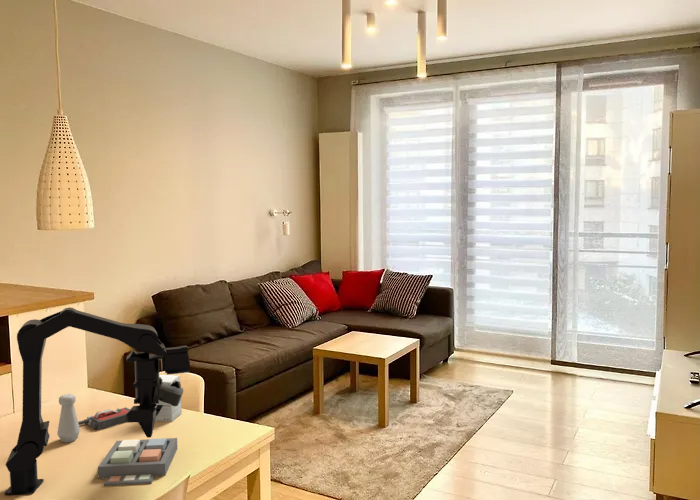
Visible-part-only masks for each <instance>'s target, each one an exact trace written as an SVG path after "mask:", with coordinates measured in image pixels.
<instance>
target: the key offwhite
mask: <svg viewBox="0 0 700 500" xmlns="http://www.w3.org/2000/svg"><path fill="white" fill-rule="evenodd" d="M140 440H141V439H122V440H121V441H122V442H121V444H120V445H119V447H118V451H128V450H133V451H138V449H139V448H140Z"/></svg>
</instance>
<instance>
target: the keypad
mask: <svg viewBox="0 0 700 500" xmlns="http://www.w3.org/2000/svg"><path fill="white" fill-rule="evenodd" d="M150 439H151V438H149V439H140V448H139V449H138V451H133V459H132V461H131V463H115V464H110V458H111V457H112V455H113V454H114V452H115V451H118V447H119V445H120V444H121V442H122V441H123V440H116V441H115V442H114V444H113V445H112V446H111V448H110V449H109V450H108V452H107V454H106V455H105V457H103V459H102V461H101V462H100V463H99V464H98V466H97V473H98V474H97V476H98V480H102V479H105V481H104V483H103V486H104V487H109V486H126V485H128V486H131V485H146V484H147V485H149V484H152V483H153V481H154V479H155V477H157V476H167V473H168V471H169V469H170V466H171V464H172V462H173V459H174V457H175V455H176V452H177V450H178V438H177V437H175V438H174V437H170V438H169V437H168V438H167V446H166V448H165V450H161V458H160V460H159V461H155V462H139V457H140V455H141V453H142V452H143V450H146V445H147V443H148V441H149V440H150Z"/></svg>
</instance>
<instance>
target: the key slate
mask: <svg viewBox="0 0 700 500" xmlns="http://www.w3.org/2000/svg"><path fill="white" fill-rule="evenodd" d="M149 439H150V440H149V441H148V443H147V445H146V450H149V449H161V450H165V448H166V446H167V438H166V437H164V438H149Z"/></svg>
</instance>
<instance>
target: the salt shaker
mask: <svg viewBox="0 0 700 500" xmlns="http://www.w3.org/2000/svg"><path fill="white" fill-rule="evenodd" d="M76 401H77V400H76V395H75V394H71V393H66V394H63V395H60V396H59V397H58V404H59V405H60V406H61V408H60V414H59V421H58V426H57V431H56V432H57V436H58V438H59V439H60V441H61V443H68V444H69V443H71V442H72V443H73V442H76V440H77V439H78V438H79V435H80V431H81V428H80V425H79V424H78V422H79V419H78V416H77V412H76V408H75V402H76Z"/></svg>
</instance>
